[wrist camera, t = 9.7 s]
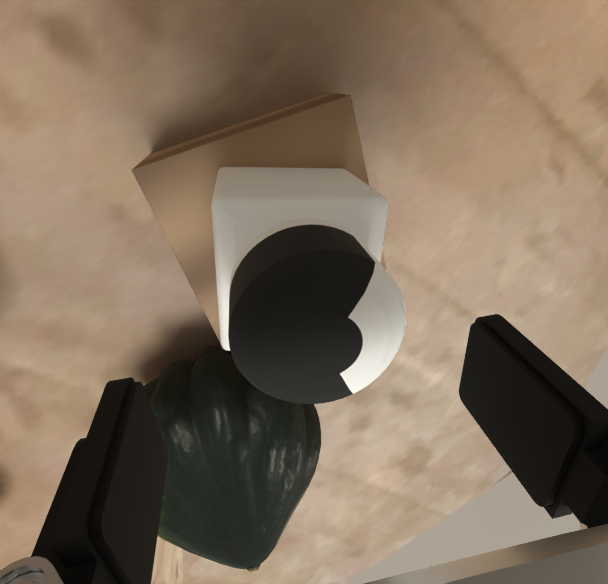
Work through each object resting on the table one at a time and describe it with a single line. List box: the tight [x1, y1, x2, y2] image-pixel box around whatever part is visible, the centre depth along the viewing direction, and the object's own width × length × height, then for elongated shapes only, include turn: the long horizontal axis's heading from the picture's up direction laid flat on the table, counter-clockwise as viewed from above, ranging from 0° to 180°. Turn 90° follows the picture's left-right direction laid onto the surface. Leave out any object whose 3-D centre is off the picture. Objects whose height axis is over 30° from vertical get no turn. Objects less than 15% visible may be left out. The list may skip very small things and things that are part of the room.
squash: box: [143, 347, 321, 572], centre depth 30 cm, size 14×15×15 cm
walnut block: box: [132, 93, 386, 343], centre depth 26 cm, size 12×12×6 cm
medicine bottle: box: [211, 167, 406, 404], centre depth 18 cm, size 7×7×12 cm
